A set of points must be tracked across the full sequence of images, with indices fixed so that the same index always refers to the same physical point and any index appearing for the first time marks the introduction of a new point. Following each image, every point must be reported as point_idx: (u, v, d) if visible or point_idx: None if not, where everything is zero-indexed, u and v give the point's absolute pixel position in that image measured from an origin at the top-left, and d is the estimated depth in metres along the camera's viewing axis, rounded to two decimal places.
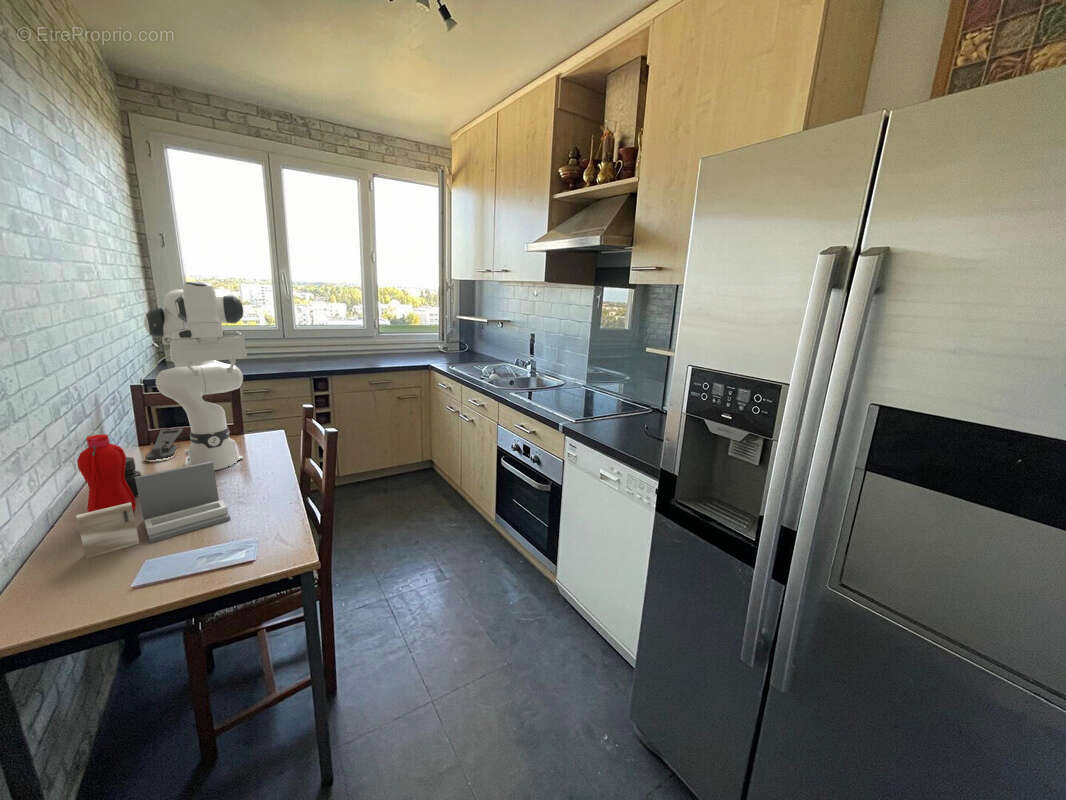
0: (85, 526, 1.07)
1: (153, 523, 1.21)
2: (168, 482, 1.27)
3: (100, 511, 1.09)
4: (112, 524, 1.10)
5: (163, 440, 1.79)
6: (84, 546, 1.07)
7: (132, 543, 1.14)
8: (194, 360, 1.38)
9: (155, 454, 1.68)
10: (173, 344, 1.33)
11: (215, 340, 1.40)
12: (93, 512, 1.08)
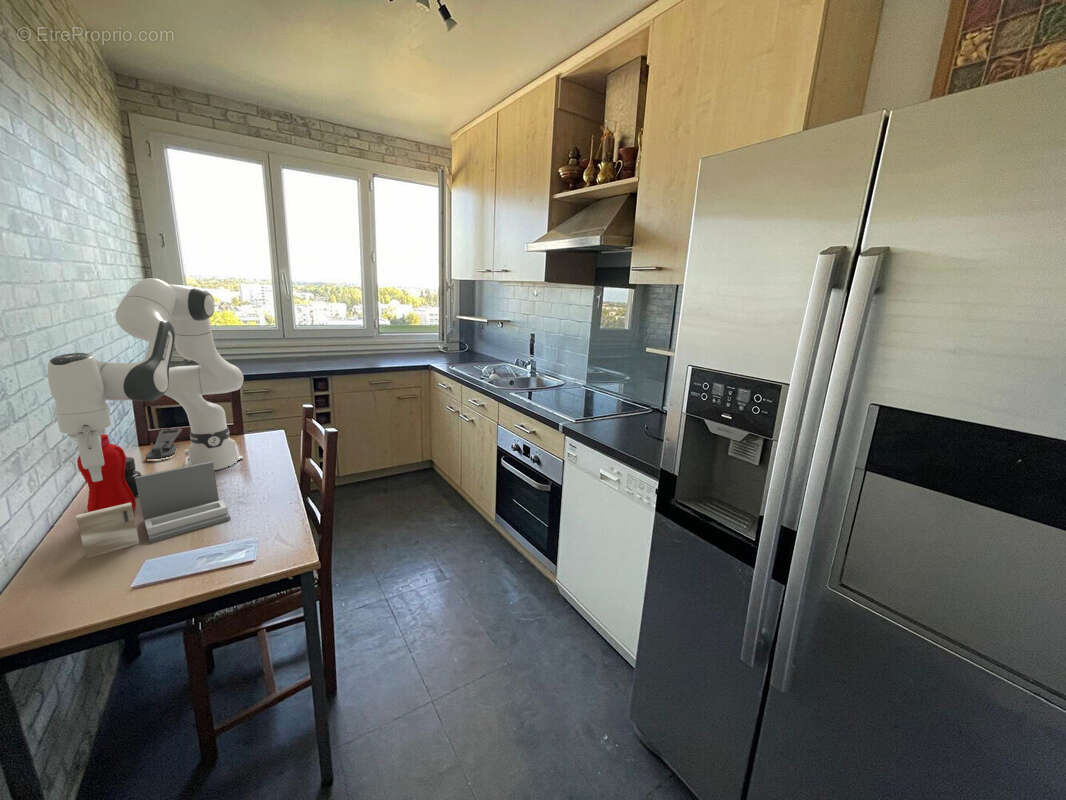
0: (85, 526, 1.07)
1: (153, 523, 1.21)
2: (168, 482, 1.27)
3: (100, 511, 1.09)
4: (112, 524, 1.10)
5: (163, 440, 1.79)
6: (84, 546, 1.07)
7: (132, 543, 1.14)
8: None
9: (155, 453, 1.69)
10: None
11: (71, 436, 1.02)
12: (93, 512, 1.08)
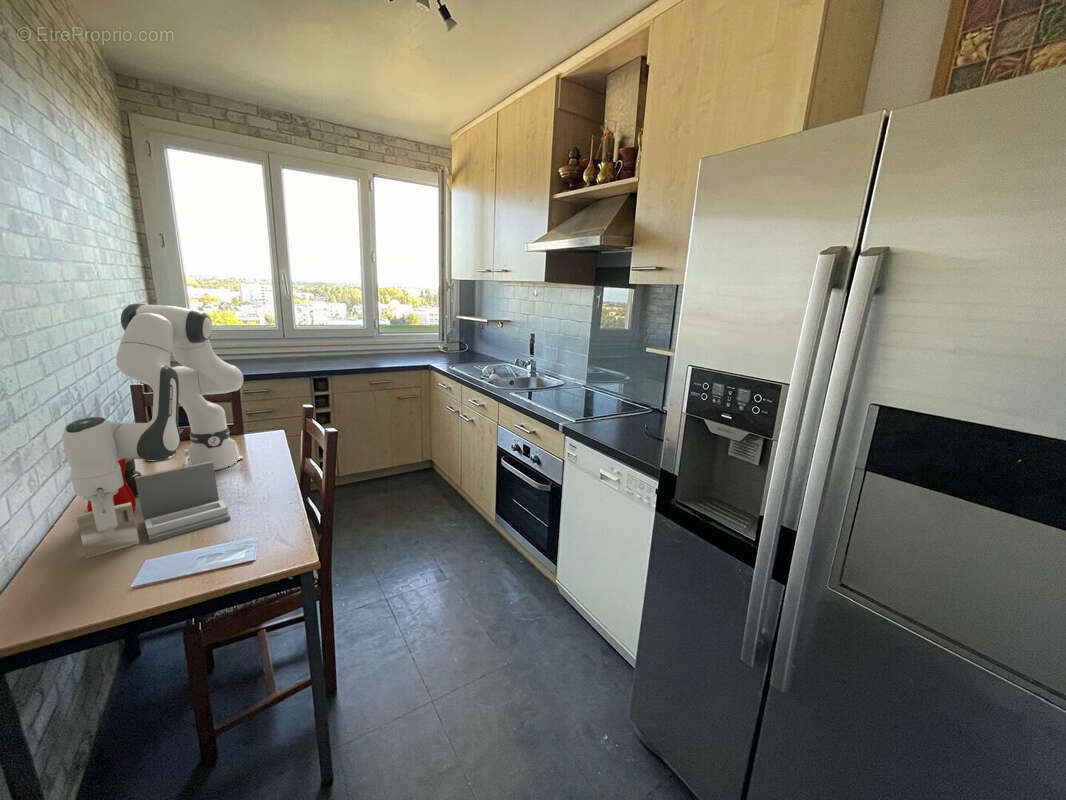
0: (85, 526, 1.07)
1: (153, 523, 1.21)
2: (168, 482, 1.27)
3: None
4: None
5: None
6: (84, 546, 1.07)
7: (132, 543, 1.14)
8: None
9: None
10: None
11: (86, 498, 1.05)
12: None
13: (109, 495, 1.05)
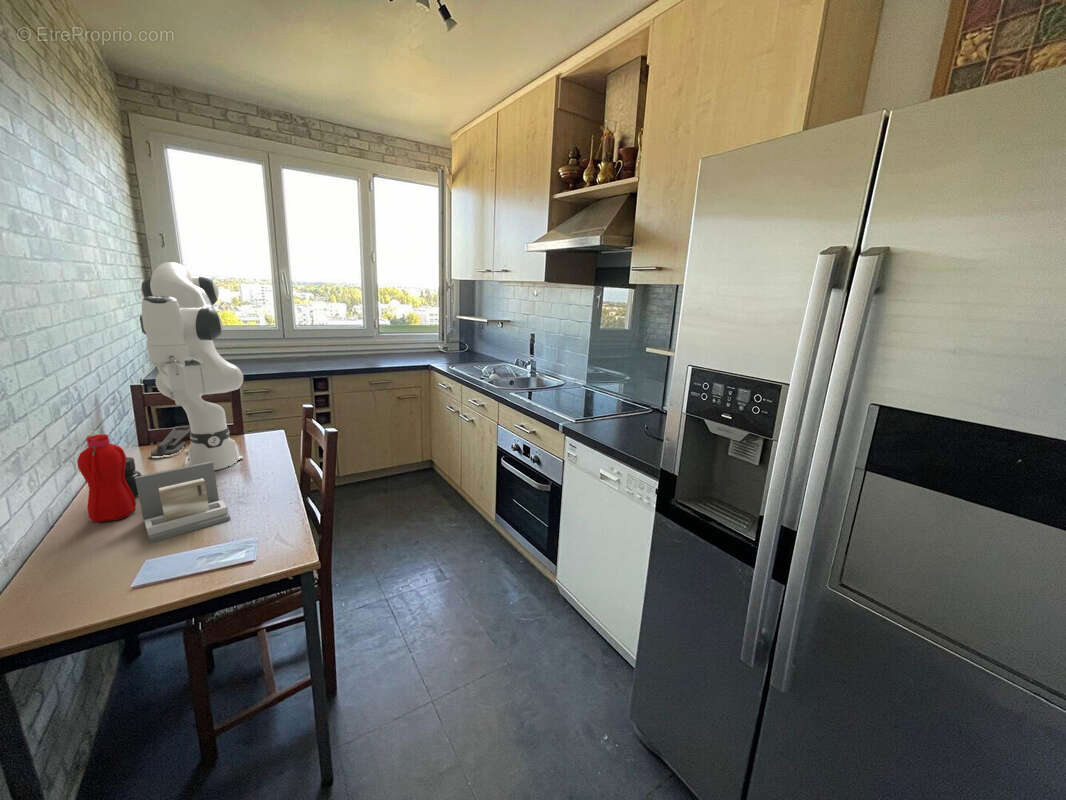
0: (166, 498, 1.19)
1: (153, 523, 1.21)
2: (168, 482, 1.27)
3: (178, 485, 1.22)
4: (188, 497, 1.23)
5: (172, 437, 1.83)
6: (165, 516, 1.20)
7: None
8: (164, 383, 1.26)
9: (158, 451, 1.72)
10: None
11: (159, 365, 1.20)
12: (172, 486, 1.21)
13: (180, 362, 1.20)
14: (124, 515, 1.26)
